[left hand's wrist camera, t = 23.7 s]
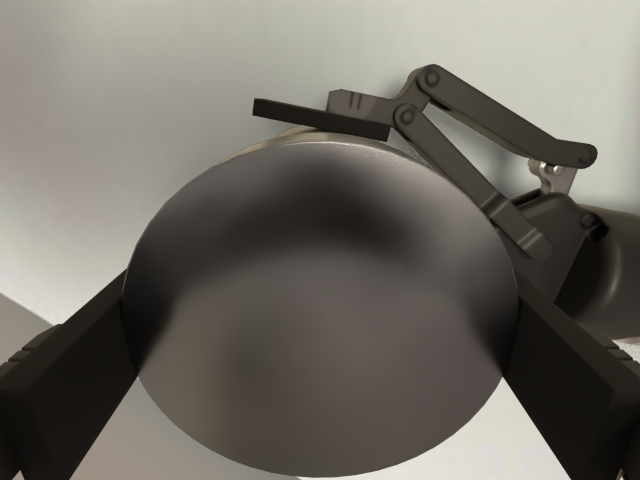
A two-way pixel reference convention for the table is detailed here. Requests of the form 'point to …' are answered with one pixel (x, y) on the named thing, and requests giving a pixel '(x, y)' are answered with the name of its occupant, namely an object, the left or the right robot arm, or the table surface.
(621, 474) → the spray gun
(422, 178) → the lid
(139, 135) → the table surface
